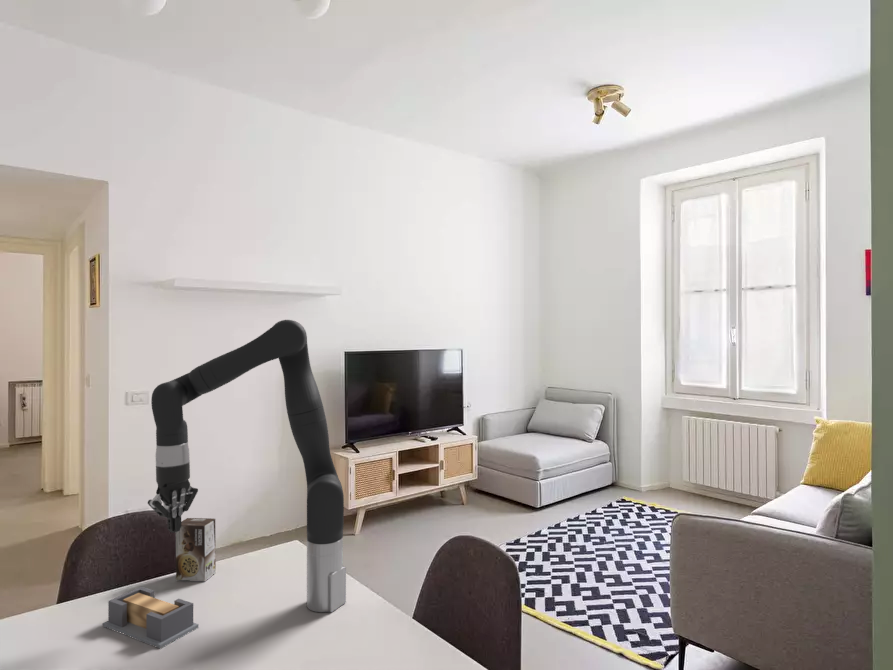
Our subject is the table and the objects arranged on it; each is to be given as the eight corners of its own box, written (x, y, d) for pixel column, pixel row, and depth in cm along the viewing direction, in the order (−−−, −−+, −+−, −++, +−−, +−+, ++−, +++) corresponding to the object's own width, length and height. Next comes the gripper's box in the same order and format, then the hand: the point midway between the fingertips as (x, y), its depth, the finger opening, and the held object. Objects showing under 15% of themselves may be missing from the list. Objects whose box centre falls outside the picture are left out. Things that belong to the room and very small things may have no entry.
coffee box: (216, 572, 163) (216, 518, 163) (204, 582, 156) (205, 525, 156) (187, 571, 164) (187, 517, 164) (174, 580, 157) (174, 524, 157)
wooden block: (178, 627, 131) (179, 606, 131) (163, 635, 127) (163, 613, 127) (138, 612, 137) (138, 592, 137) (122, 620, 134) (123, 599, 134)
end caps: (198, 627, 132) (198, 602, 132) (160, 648, 123) (160, 621, 123) (142, 608, 141) (142, 584, 141) (103, 626, 133) (103, 601, 133)
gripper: (158, 469, 129) (160, 543, 129) (205, 457, 141) (207, 524, 141) (137, 466, 132) (139, 538, 132) (185, 455, 144) (187, 521, 144)
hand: (174, 531), depth 136 cm, fingers closed
